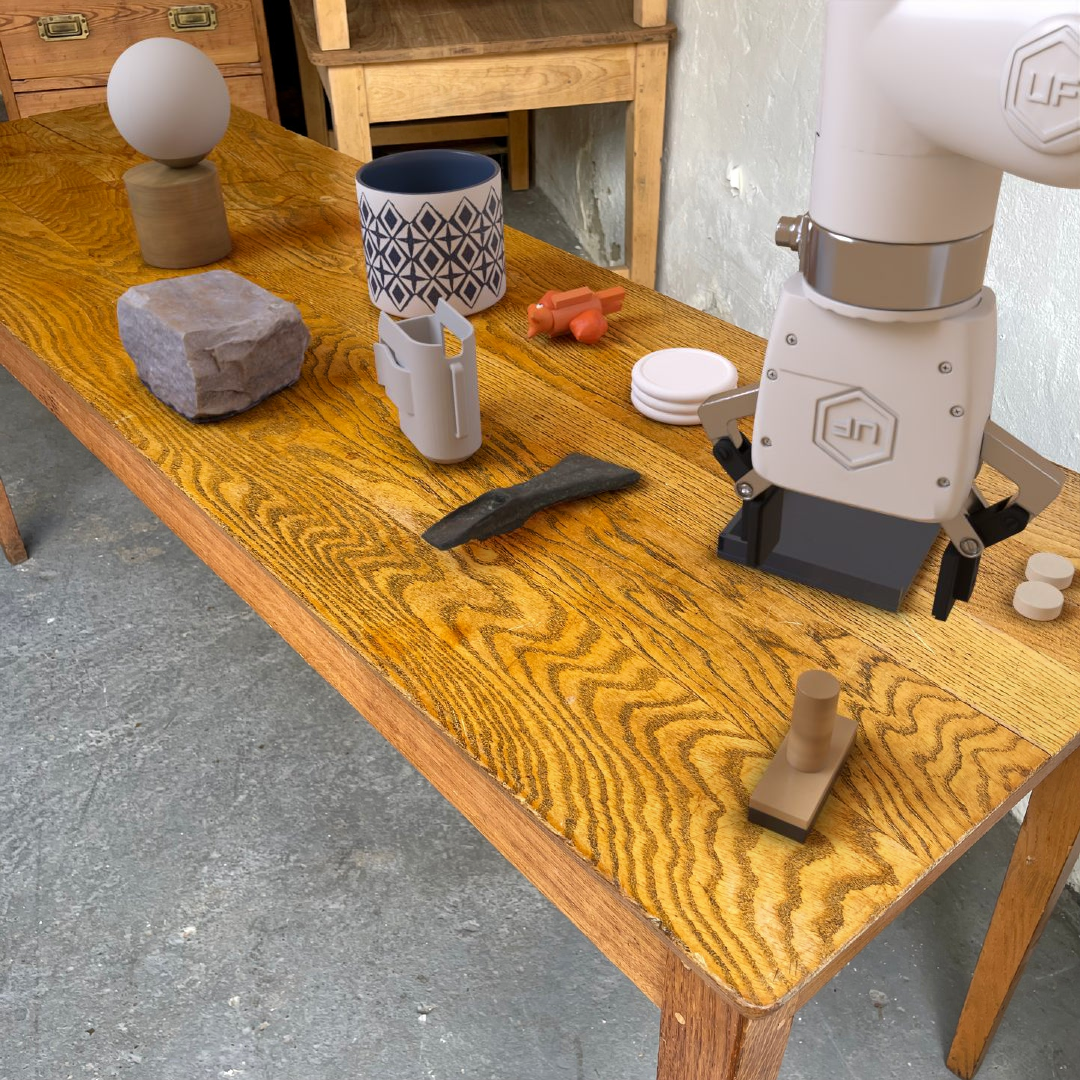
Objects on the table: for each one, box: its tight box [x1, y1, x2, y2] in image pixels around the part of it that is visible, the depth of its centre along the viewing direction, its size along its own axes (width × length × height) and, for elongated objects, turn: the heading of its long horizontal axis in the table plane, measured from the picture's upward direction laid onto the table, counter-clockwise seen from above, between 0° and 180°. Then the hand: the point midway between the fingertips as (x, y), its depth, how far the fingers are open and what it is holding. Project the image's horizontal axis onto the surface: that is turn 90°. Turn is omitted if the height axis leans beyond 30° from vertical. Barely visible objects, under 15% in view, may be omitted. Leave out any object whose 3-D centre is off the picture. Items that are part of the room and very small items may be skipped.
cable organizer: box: [372, 298, 483, 465], centre depth 97 cm, size 7×12×12 cm, turn 27°
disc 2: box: [1012, 580, 1065, 622], centre depth 79 cm, size 3×3×1 cm
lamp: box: [106, 36, 233, 270], centre depth 136 cm, size 15×14×25 cm
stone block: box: [116, 269, 312, 425], centre depth 110 cm, size 17×12×15 cm
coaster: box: [630, 347, 739, 426], centre depth 105 cm, size 10×10×4 cm
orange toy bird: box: [526, 285, 627, 345], centre depth 117 cm, size 5×8×12 cm
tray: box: [716, 489, 943, 614], centre depth 87 cm, size 14×15×2 cm
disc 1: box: [1024, 551, 1076, 591], centre depth 82 cm, size 3×3×1 cm
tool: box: [420, 452, 643, 552], centre depth 90 cm, size 21×8×3 cm, turn 136°
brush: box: [746, 669, 860, 845], centre depth 64 cm, size 4×9×8 cm, turn 149°
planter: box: [354, 148, 507, 320], centre depth 124 cm, size 16×16×14 cm
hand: (850, 578), depth 57 cm, fingers open, 9 cm apart
